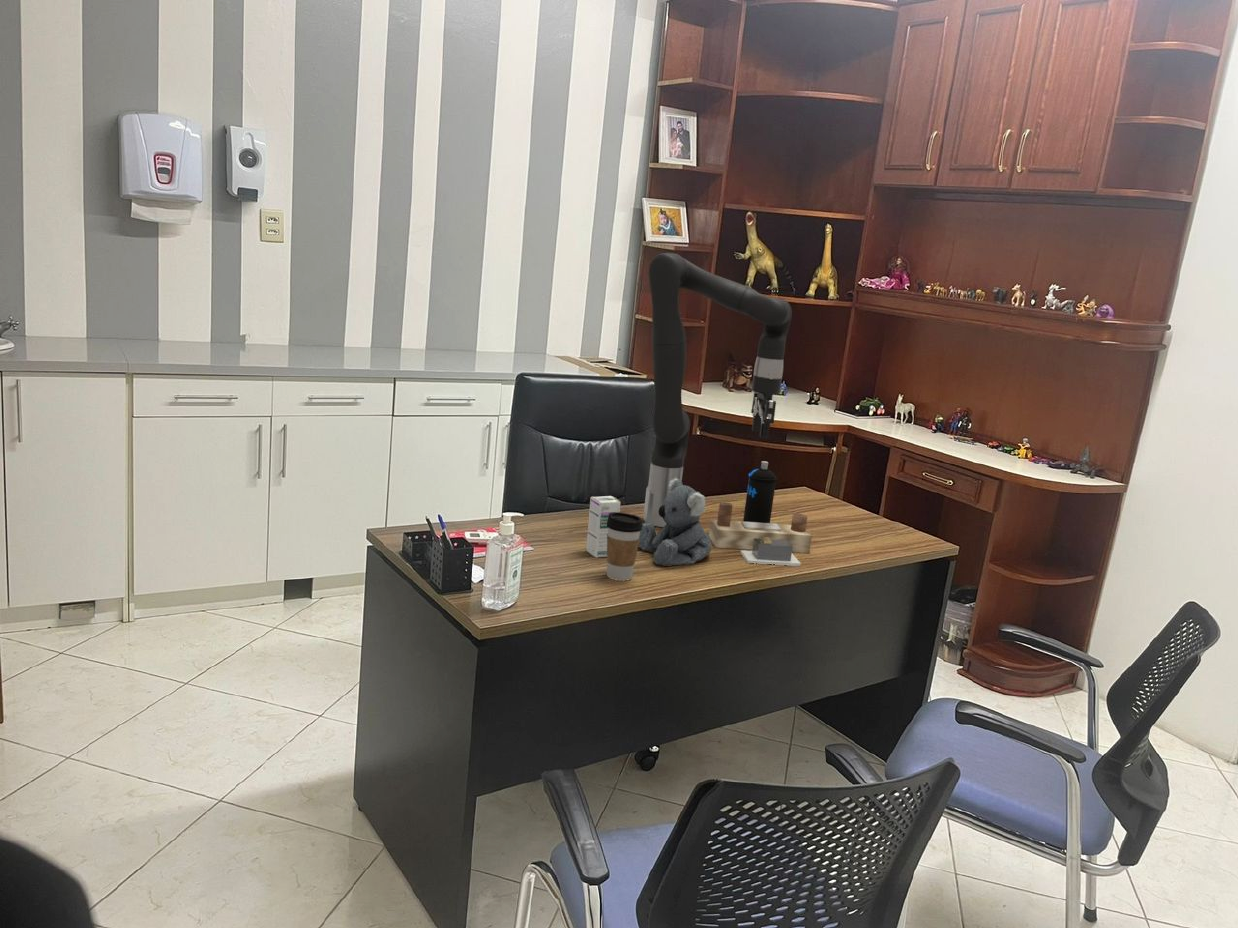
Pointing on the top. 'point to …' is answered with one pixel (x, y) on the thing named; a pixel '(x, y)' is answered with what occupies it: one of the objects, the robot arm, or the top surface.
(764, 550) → the lever cap
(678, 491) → the koala plush
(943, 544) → the top surface
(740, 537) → the hand plane
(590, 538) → the syrup box
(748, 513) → the aerosol can
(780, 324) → the robot arm
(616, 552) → the coffee cup
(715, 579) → the top surface
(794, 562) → the rubber mat
